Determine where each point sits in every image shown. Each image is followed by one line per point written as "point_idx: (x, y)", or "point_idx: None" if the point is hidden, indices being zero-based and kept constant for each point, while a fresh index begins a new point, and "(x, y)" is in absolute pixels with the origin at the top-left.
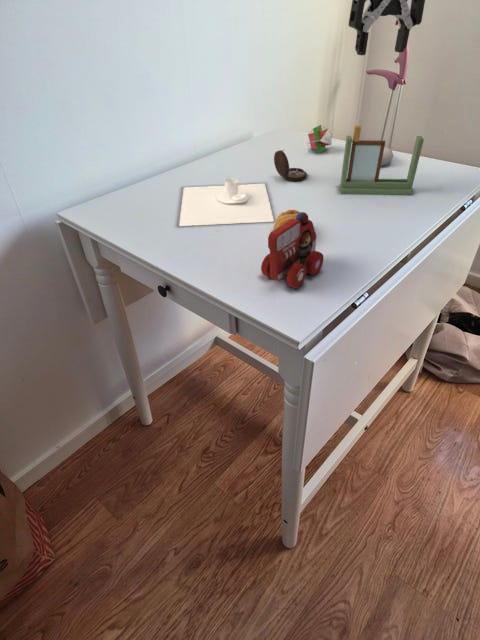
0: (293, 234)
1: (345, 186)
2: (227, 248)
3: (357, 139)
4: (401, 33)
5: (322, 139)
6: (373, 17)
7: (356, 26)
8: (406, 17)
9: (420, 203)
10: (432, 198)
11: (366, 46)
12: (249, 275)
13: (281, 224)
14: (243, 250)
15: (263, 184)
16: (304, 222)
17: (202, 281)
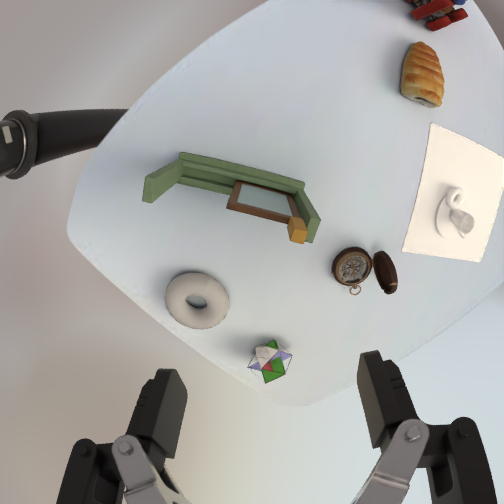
0: None
1: (296, 188)
2: (481, 87)
3: (295, 218)
4: (164, 434)
5: (273, 351)
6: (396, 483)
7: (466, 422)
8: (147, 483)
9: (181, 116)
10: (154, 133)
11: (371, 375)
12: (466, 29)
13: (442, 77)
14: (469, 74)
15: (403, 248)
16: None
17: (497, 47)
